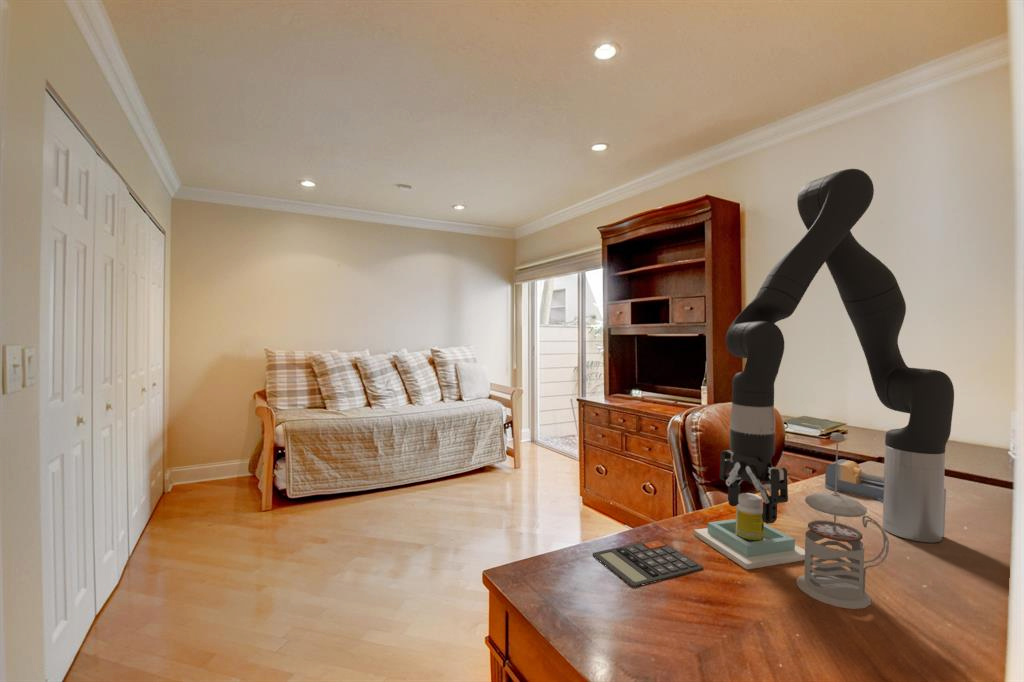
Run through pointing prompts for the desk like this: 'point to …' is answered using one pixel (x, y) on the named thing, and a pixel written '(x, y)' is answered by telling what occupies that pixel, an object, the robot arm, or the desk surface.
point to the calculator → (647, 562)
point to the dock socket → (751, 545)
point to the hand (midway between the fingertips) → (750, 513)
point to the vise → (854, 480)
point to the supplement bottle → (749, 517)
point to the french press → (837, 551)
